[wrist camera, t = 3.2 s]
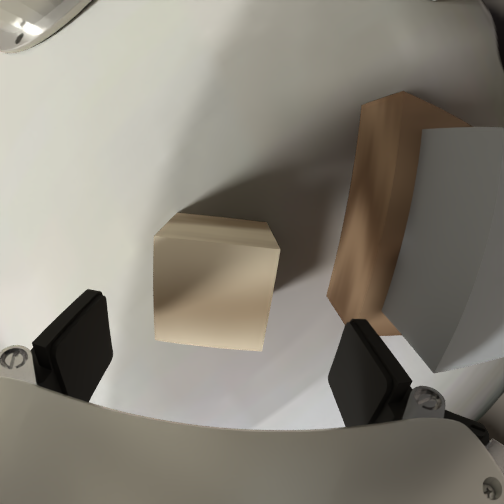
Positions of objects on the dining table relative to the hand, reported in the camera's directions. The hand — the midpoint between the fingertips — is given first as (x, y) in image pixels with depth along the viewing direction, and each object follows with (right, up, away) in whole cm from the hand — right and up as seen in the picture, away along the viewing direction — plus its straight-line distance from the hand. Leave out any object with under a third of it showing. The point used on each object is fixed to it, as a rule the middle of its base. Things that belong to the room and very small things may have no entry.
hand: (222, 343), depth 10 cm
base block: (+13, +6, +7) cm, 15 cm away
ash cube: (-1, +3, +6) cm, 7 cm away
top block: (+13, +4, +2) cm, 13 cm away
